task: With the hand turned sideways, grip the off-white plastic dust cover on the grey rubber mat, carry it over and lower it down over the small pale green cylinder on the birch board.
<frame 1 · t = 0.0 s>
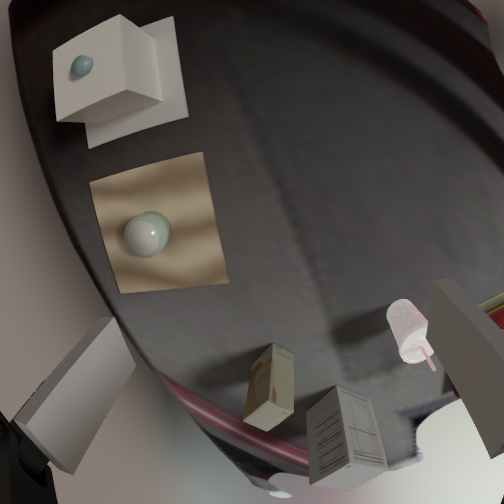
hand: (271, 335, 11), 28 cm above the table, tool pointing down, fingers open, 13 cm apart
hardcover book: (479, 341, 42), on the table
skincare box: (271, 359, 46), on the table
pale green cylinder: (153, 230, 39), point 1 cm above the table, touching birch board
dust cover: (125, 80, 32), resting on grey mat
beverage cup: (399, 311, 41), on the table
grey mat: (127, 81, 33), on the table
supplement box: (338, 405, 49), on the table
birch board: (155, 229, 40), on the table
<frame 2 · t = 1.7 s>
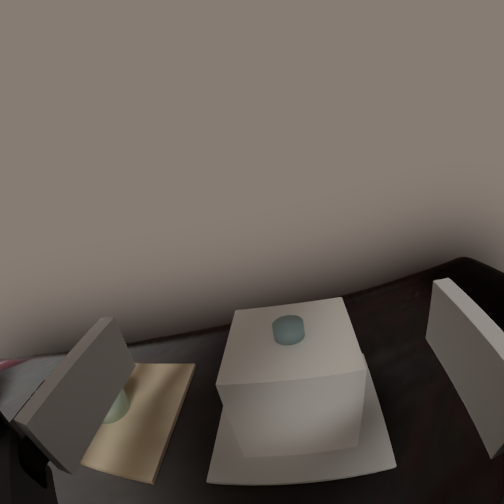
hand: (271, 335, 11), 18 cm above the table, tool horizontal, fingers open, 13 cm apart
pale green cylinder: (110, 407, 28), point 1 cm above the table, touching birch board
dust cover: (299, 413, 25), resting on grey mat
grey mat: (299, 416, 26), on the table
birch board: (112, 410, 29), on the table
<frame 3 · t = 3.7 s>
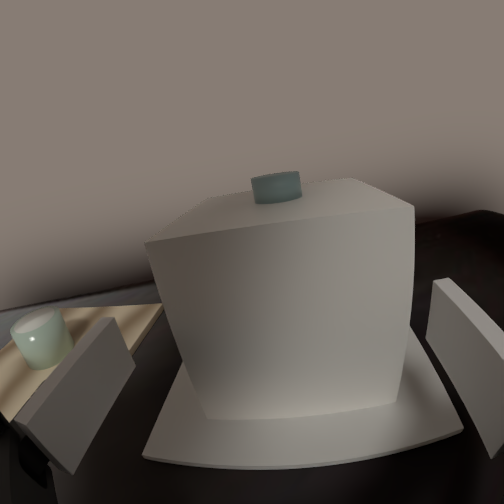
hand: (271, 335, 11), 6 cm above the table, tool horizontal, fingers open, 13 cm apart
pale green cylinder: (50, 352, 21), point 1 cm above the table, touching birch board
dust cover: (299, 357, 18), resting on grey mat
grey mat: (300, 361, 18), on the table
birch board: (52, 357, 21), on the table
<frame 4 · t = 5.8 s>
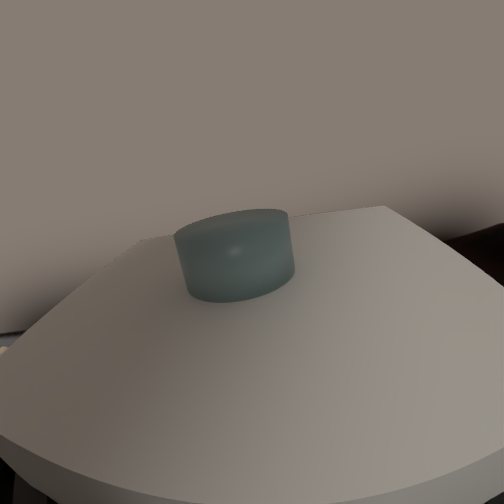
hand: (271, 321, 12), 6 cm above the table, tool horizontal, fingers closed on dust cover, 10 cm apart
dust cover: (285, 481, 10), resting on grey mat, touching gripper
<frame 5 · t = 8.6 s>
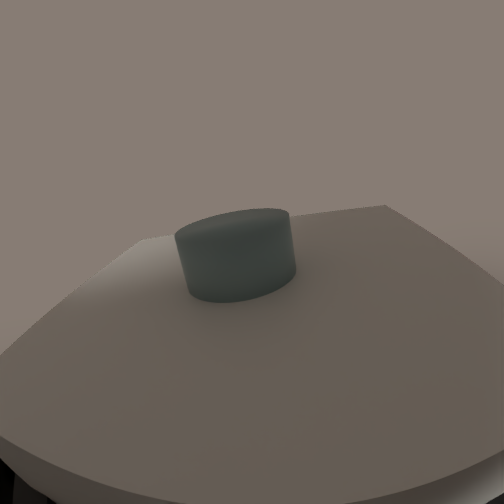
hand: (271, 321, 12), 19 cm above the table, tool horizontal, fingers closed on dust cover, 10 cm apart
dust cover: (286, 481, 10), point 13 cm above the table, touching gripper
when the fingers open (8 cm above the table, at t = 11.3 s): dust cover drops 1 cm, resting on birch board.
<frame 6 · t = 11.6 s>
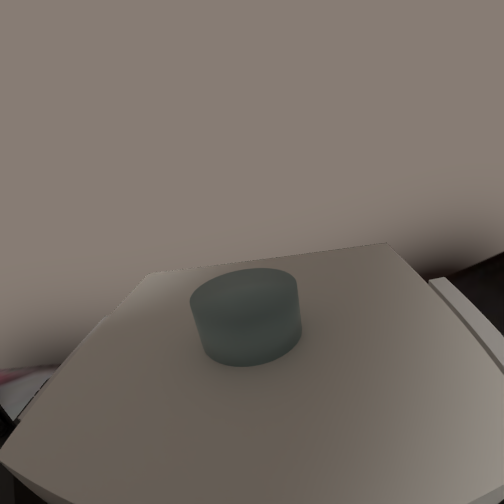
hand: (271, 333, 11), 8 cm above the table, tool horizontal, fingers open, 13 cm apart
dust cover: (288, 493, 10), point 1 cm above the table, touching birch board
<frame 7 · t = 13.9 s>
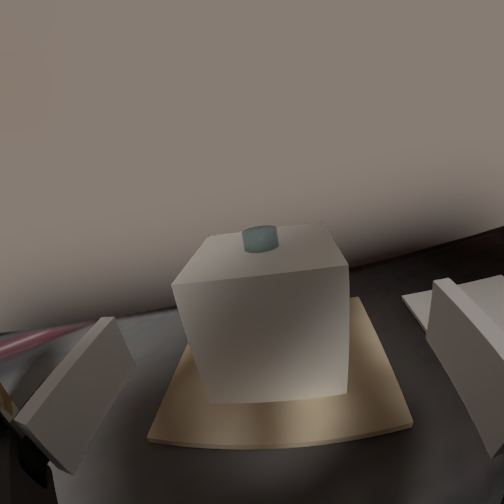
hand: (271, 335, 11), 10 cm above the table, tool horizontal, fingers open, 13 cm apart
skincare box: (8, 435, 15), on the table
dust cover: (278, 358, 24), point 1 cm above the table, touching birch board
grey mat: (491, 321, 21), on the table
birch board: (278, 363, 24), on the table
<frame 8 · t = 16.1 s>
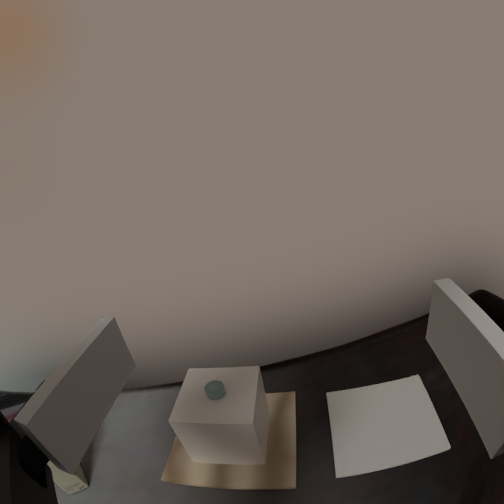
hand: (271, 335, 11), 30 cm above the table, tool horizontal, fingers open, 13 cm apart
skincare box: (74, 478, 28), on the table
dust cover: (233, 437, 36), point 1 cm above the table, touching birch board
grey mat: (385, 422, 33), on the table
birch board: (234, 438, 36), on the table
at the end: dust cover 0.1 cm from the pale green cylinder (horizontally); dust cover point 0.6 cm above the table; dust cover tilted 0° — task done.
